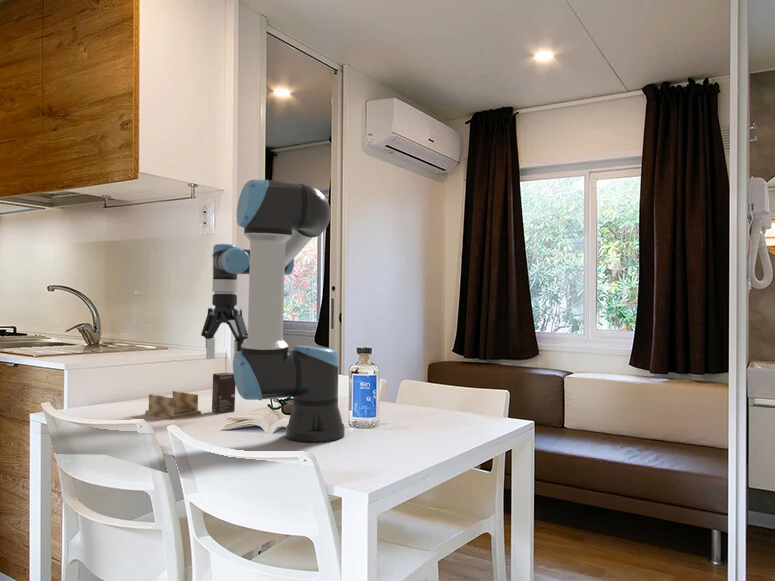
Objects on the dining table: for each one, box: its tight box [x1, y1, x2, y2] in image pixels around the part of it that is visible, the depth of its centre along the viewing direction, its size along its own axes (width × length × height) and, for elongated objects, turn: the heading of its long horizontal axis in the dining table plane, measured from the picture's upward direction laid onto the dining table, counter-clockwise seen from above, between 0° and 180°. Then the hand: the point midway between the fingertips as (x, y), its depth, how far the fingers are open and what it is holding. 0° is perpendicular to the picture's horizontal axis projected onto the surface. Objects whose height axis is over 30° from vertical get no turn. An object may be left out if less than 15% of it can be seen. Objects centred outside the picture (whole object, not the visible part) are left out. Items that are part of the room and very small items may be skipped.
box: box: [211, 372, 236, 414], centre depth 188 cm, size 6×4×12 cm
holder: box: [145, 390, 202, 420], centre depth 184 cm, size 14×10×6 cm
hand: (223, 360), depth 189 cm, fingers open, 13 cm apart
